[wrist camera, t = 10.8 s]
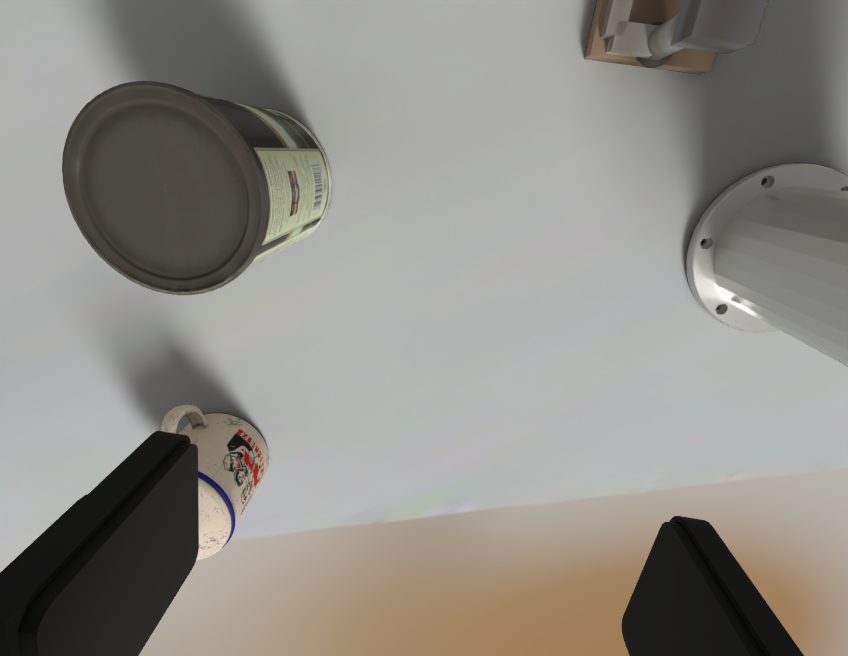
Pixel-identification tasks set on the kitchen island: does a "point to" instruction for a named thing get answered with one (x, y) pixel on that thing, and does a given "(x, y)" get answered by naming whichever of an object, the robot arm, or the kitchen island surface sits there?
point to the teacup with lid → (221, 470)
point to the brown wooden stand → (672, 32)
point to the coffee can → (190, 184)
